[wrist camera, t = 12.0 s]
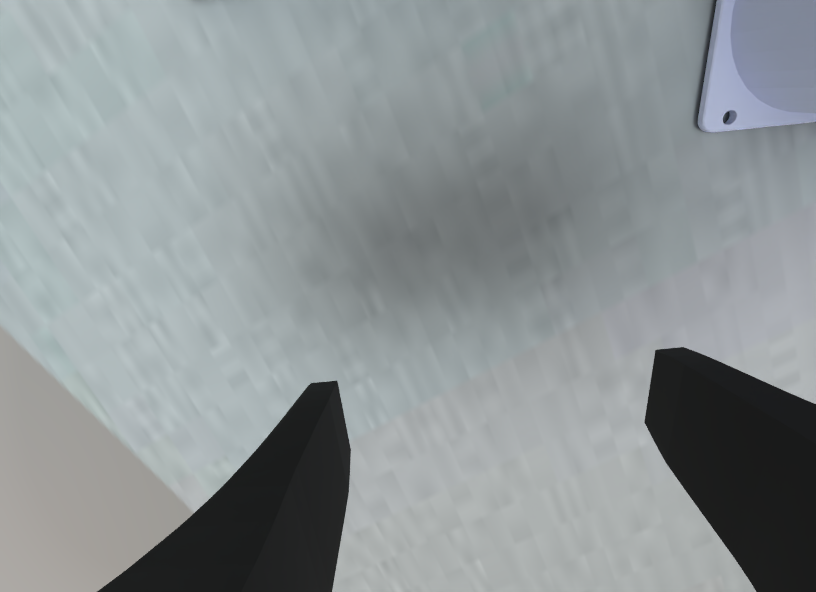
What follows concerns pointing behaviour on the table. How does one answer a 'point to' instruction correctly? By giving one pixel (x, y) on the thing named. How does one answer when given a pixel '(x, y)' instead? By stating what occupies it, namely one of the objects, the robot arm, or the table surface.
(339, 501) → the robot arm
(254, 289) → the table surface
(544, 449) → the table surface
